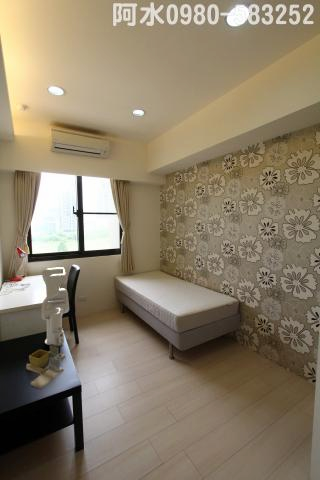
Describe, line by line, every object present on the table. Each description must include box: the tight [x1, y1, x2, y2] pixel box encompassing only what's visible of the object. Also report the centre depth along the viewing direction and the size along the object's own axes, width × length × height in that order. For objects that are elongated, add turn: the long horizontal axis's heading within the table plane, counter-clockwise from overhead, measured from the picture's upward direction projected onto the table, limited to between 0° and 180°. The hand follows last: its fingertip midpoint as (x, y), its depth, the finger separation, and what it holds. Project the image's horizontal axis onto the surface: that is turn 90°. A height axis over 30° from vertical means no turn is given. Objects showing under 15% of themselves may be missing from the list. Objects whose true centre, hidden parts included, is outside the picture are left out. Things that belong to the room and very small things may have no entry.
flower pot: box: [28, 349, 50, 368], centre depth 147 cm, size 9×9×9 cm
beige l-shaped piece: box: [30, 355, 64, 389], centre depth 137 cm, size 17×8×10 cm, turn 160°
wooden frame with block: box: [25, 345, 66, 375], centre depth 151 cm, size 20×14×8 cm
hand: (56, 353), depth 159 cm, fingers closed on wooden frame with block, 2 cm apart
